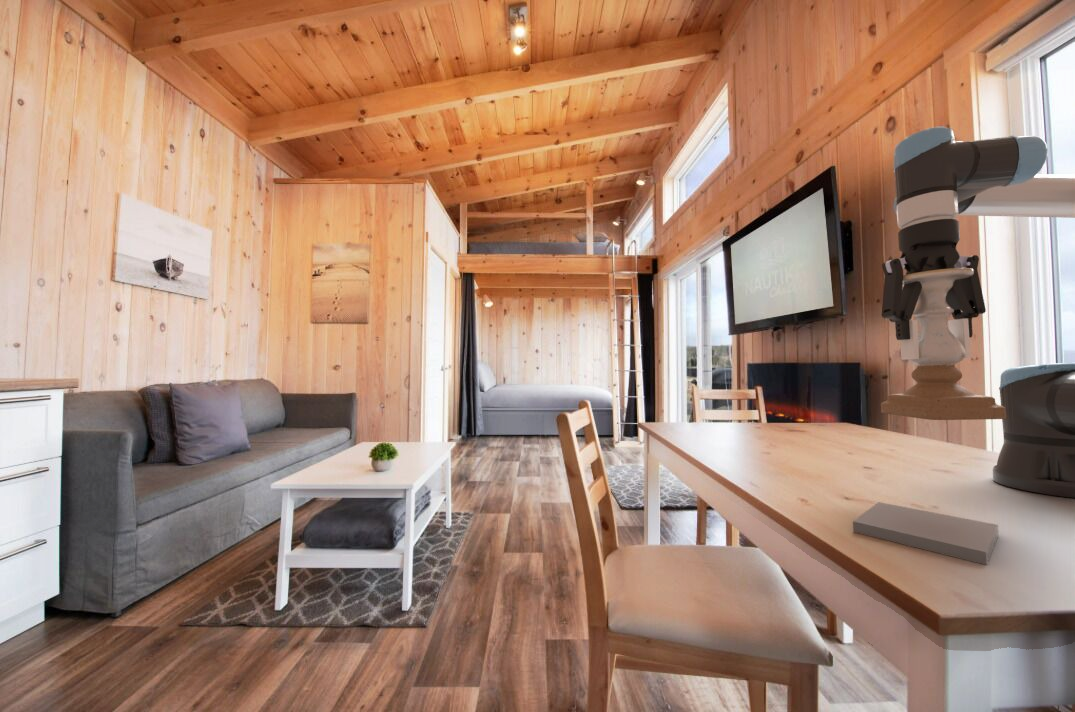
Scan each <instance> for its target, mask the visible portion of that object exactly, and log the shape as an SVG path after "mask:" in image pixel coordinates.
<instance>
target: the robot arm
mask: <svg viewBox="0 0 1075 712" xmlns="http://www.w3.org/2000/svg"><path fill="white" fill-rule="evenodd" d="M955 138H956V136H954V131H953V129H952V128H950V127H946V126H935V127H930V128H929V127H928V128H926V129H922V130H919V131H917V132H915V133H912V134H910V135H907V136H906V137H905V138H904V139H902V140H901V141H900V142H898V144H897V145H896V146H895V148H894V155H893V168H892V172H893V175H894V186H895V198H894V200H893V201H894V202H893V209H894V213H895V214H896V220H897V228H899V229H900V230H899V232H897V238H898V240H897V241H898V251H900V252H901V256H899V258H894V259H893V258H892V259H890V260H887V261H885V262H882V264H881V268H882V272H883V274H884V281H883V293H882V302H881V303H882V304H881V305H882V306H881V317H882V318H883V319H888V320H889V322H891V323H895V324H894V326H895V337H896V340H897V341H899V342H900V343H899V345H900V360H903V361H904V360H908V359H919V344H918V331H919V328H918V321H917V320H916V319H913V320H911V319H912V318H913V316H912V315H913V312H914V310H915V308H916V307H917V303H918V298H919V295H920V292H921V289H922V284H921V283H920V282H919V281H916V282H912V283H908V284H904V287H902V285H903V275H904V270H905V271H906V272H905V275H907V274H912V273H918V272H924V271H931V270H939V269H949V268H971V269H973V270H974V274H973V275H972V276H971V277H968V278H965V279H961V280H955V281H954V283H953V287H952V288H951V289H950V290H949V291H948V293H947V295H946V301H947V303H948V305H949V306H950V307H951V308H953V309H954V312H953V313H951V314H950V315H951V316H952V317H953V319H951V320H950V319H948V321H947V327H948V329H949V330H950V332H951V333H952V334H953V335H954V336H955V337H956V338H957V339H958V340H959V341H960V342H961V343H962V344H963V346H964V348H965V350H966V356H965V358H964V359H970V358H971V357H972V356H971V343H970V341H971V340H970V338H972V337H973V319H974V318H978V317H979V316H980V315H982V314H985V313H986V312H987V310H986V305H985V299H984V295H983V290H982V285H981V281H980V280H981V279H980V276H979V272H978V265H979V260H980V257H979V256H978V255H976V254H973V255H970V256H966V255H961V254H960V252H959V251H958V249H957V244H958V243H959V242H960V239H961V235H960V233H961V232H960V221H959V220H957V219H956V218H957V217H959V216H968V217H969V216H970V217H971V216H973V217H974V216H975V217H1019V218H1020V217H1021V218H1023V217H1024V218H1026V217H1027V218H1029V217H1030V218H1063V219H1064V218H1067V219H1068V218H1072V219H1073V218H1075V174H1039V172H1040V171H1041V170H1042V169H1043V168H1044V166H1045V164H1046V162H1047V159H1048V155H1049V153H1048V145H1047V142H1046V141H1045V140H1044V139H1043V138H1041V136H1038V135H1037V136H1036V135H1021V136H1018V135H1017V136H1016V135H1009V136H1004V137H997V138H996V137H995V138H987V139H985V138H984V139H978V140H976V139H975V140H969V141H965V140H964V141H963V140H961V141H959V140H958V141H955ZM998 390H999V394H1000V395H999V398H1000V406H1003V407H1005V409H1006V419H1001V421H1002V432H1003V445H1002V447H1001V450H1000V452H999V455H998V458H997V461H996V465H994V466H993V468H992V480H993V481H994V482H996V483H997V484H1000V485H1002V486H1006V487H1008V488H1013V489H1017V490H1021V491H1027V492H1032V493H1038V494H1041V495H1042V494H1044V495H1048V496H1049V495H1051V496H1057V497H1065V498H1074V499H1075V362H1062V363H1061V362H1059V363H1058V362H1057V363H1047V364H1034V365H1033V364H1032V365H1031V364H1030V365H1024V366H1017V367H1015V366H1014V367H1011V368H1008V369H1005V370H1004V371H1003V372H1001V374H1000V385H999V387H998Z"/></svg>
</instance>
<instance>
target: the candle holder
mask: <svg viewBox="0 0 1075 712" xmlns="http://www.w3.org/2000/svg"><path fill="white" fill-rule="evenodd" d="M973 274H974V270H973V269H971V268H949V269H939V270H931V271H924V272H918V273H912V274H907V275H906V274H903V285H902V288H903V287H904V284H908V283H912V282H916V281H919V282H920V283H921V284H922V289H921V292H920V295H919V298H918V301H917V303H916V306H915V309H914V312H913V315H912V317H915V320H917V324H918V325H919V328H918V344H919V359H907V360H908V362H910V363H912V364H914V365H915V366H916V368H915V369H914V370H912V372H911V378H912V379H913V380H914V381H915V382H916V384H914V385H912V386H911V387H909V388H907V389H906V390H905V391H904V392H903V393H892V394H888V395H887V400H885V401H883V402H881V403H880V409H881V410H880V413H882V414H887V415H893V416H899V417H900V416H901V417H907V418H908V417H909V418H915V419H922V420H929V421H930V420H931V421H954V420H955V421H957V420H958V421H962V420H963V421H964V420H971V421H972V420H1002V419H1006V409H1005V407H1003V406H1001V404H997V402H996V398H994V397H993V396H988V395H979V394H975V393H974V392H972V391H971V390H969V389H968V388H966V387H964V386H962V385H960V384H958V383H957V382H959V381H960V380H961V379H962V378H963V373H962V371H961V370H960V369H958V368H957V367H956V366H955V365H957V364H958V363H960V362H962V361H963V360H964V359H966V358H965V356H966V350H965V348H964V346H963V344H962V343H961V342H960V341H959V340H958V339H957V338H956V337H955V336H954V335H953V334H952V333H951V332H950V330H949V328H948V321H949V320H950V318H951V315H952V314H951V313H953V312H954V309H953V308H951V307H950V306H949V305H948V303H947V301H946V295H947V293H948V291H949V290H950V289H951V288H952V287H953V283H954V281H955V280H961V279H965V278H968V277H971V276H972V275H973Z"/></svg>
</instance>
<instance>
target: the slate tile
mask: <svg viewBox="0 0 1075 712" xmlns="http://www.w3.org/2000/svg"><path fill="white" fill-rule="evenodd" d="M998 527H999V526H998V524H995V523H989V522H984V521H980V520H974V519H969V518H962V517H958V516H954V515H948V514H944V513H937V512H932V511H928V510H927V511H926V510H921V509H918V508H917V509H916V508H913V507H906V506H902V505H896V504H891V503H886V502H881V501H880V502H876V503H875V504H874V505H872V506H871V507H870V508H869V509H867V510H866V511H865V512H864V513H862V514H861V515H860V516H858V517H857V518H855V519H854V520H852V529H853V530H852V531H853V532H854V533H857V534H861V535H865V536H869V537H872V538H873V537H874V538H877V539H880V540H886V541H888V542H893V543H897V544H902V545H905V546H909V547H912V548H918V549H921V550H926V551H929V552H933V553H937V554H942V555H945V556H950V557H954V558H958V559H961V560H964V561H969V562H974V563H978V564H982V565H984V566H985V565H986V566H987V564H988V562H989V560H990V557H991V555H992V553H993V551H994V547H995V545H996V542H997V540H998V538H999V528H998Z"/></svg>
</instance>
